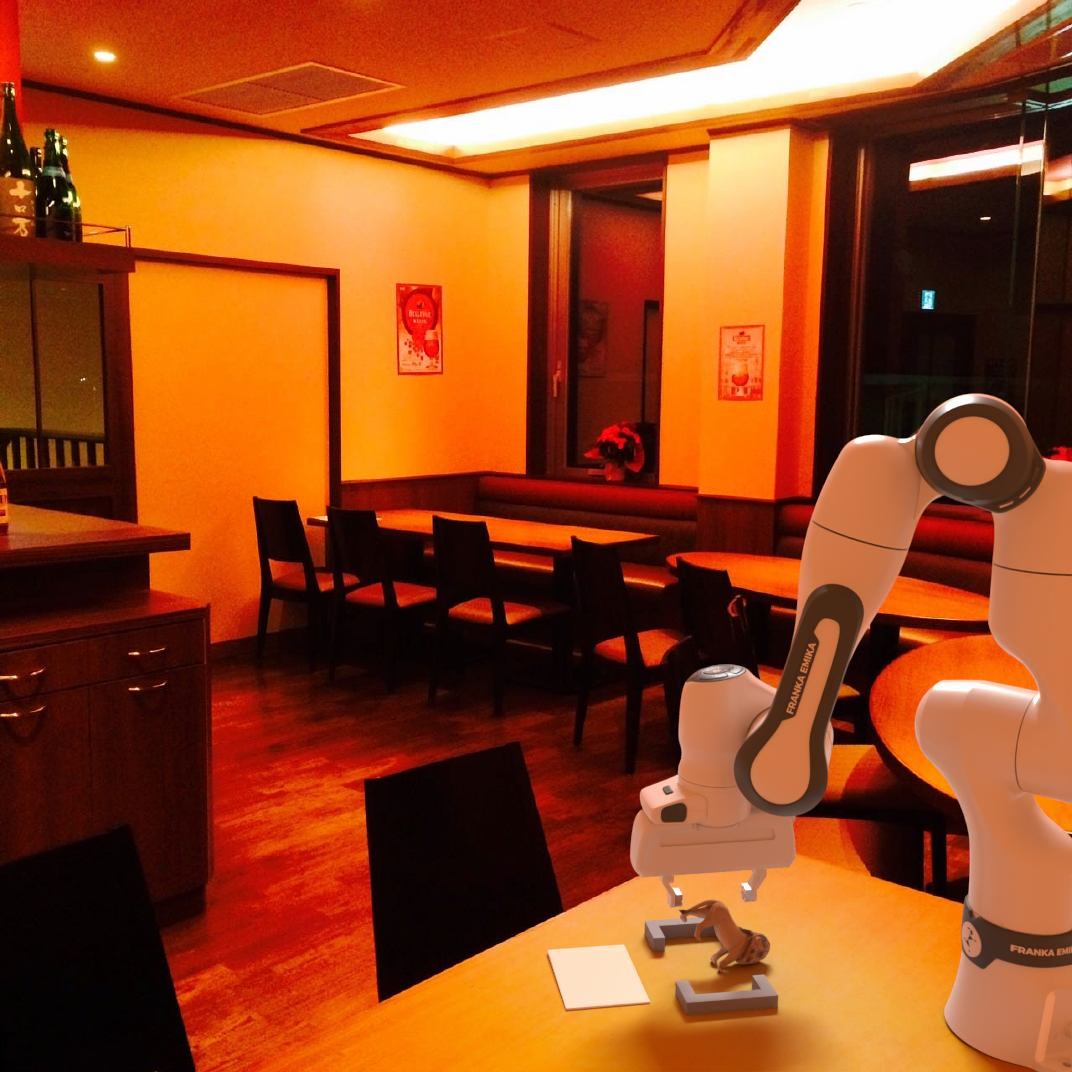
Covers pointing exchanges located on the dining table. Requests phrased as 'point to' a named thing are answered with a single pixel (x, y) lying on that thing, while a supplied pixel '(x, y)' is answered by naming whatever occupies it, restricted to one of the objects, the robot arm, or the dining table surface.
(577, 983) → the ceramic tile
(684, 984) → the grey bracket pair
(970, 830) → the robot arm
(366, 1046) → the dining table surface
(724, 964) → the lion figurine
